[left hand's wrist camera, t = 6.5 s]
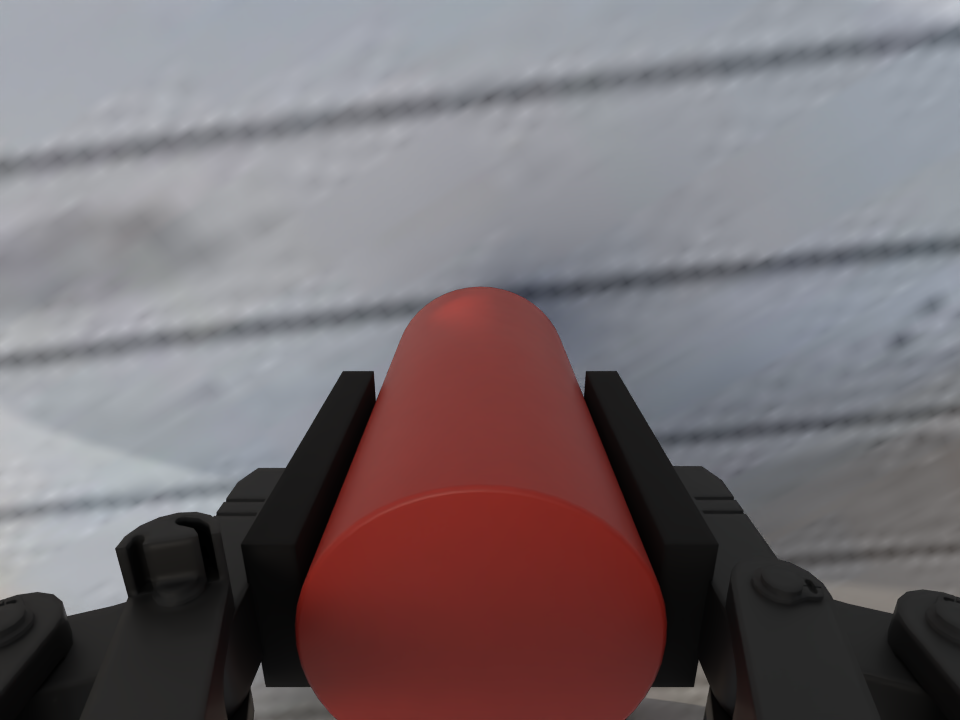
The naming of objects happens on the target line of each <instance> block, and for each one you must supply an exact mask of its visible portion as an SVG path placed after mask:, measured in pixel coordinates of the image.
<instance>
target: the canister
mask: <svg viewBox="0 0 960 720" xmlns="http://www.w3.org/2000/svg"><path fill="white" fill-rule="evenodd" d="M295 635H296V646H297V651H298V655H299V659H300V663H301V666H302V669H303V671H304V673H305V676H306V678H307V681H308V683H309V684H310V686H311V688H312V689H313V691H314V693H315V694H316V696H317V697H318V699H319V700H320V701H321V703H322V704H323V705H324V706H325V707H326V709H327V710H328V711H329V712H330V713H331V714H332V715H333V716H334V717H335V718H336V719H337V720H625V719H626V718H627V717H628V716H629V715H630V714H631V713H632V712H633V711H634V710H635V709H636V707H637V706H638V705H639V704H640V702H641V701H642V700H643V699H644V697H645V696H646V694H647V693H648V691H649V689H650V688H651V686H652V684H653V682H654V681H655V678H656V676H657V673H658V671H659V669H660V666H661V664H662V659H663V655H664V650H665V646H666V636H667V617H666V609H665V602H664V599H663V596H662V592H661V589H660V586H659V583H658V580H657V578H656V575H655V573H654V571H653V568H652V566H651V563H650V561H649V558H648V556H647V553H646V551H645V548H644V546H643V543H642V541H641V538H640V536H639V533H638V531H637V528H636V526H635V523H634V521H633V518H632V516H631V513H630V511H629V508H628V506H627V503H626V501H625V499H624V496H623V494H622V491H621V489H620V486H619V484H618V481H617V479H616V476H615V474H614V471H613V469H612V466H611V464H610V461H609V459H608V456H607V454H606V451H605V449H604V446H603V444H602V441H601V439H600V436H599V434H598V431H597V429H596V427H595V424H594V422H593V419H592V417H591V414H590V412H589V409H588V407H587V404H586V402H585V399H584V397H583V394H582V392H581V389H580V387H579V384H578V382H577V379H576V377H575V374H574V372H573V369H572V367H571V364H570V362H569V359H568V357H567V355H566V352H565V350H564V347H563V345H562V342H561V340H560V337H559V335H558V333H557V331H556V329H555V327H554V326H553V324H552V323H551V321H550V320H549V319H548V318H547V316H546V315H545V314H544V313H543V312H542V311H541V310H540V309H539V308H538V307H536V306H535V305H534V304H533V303H531V302H530V301H528V300H526V299H525V298H523V297H521V296H519V295H517V294H515V293H512V292H509V291H506V290H503V289H497V288H492V287H469V288H464V289H459V290H455V291H452V292H449V293H446V294H444V295H442V296H440V297H438V298H436V299H435V300H433V301H432V302H430V303H429V304H427V305H426V306H425V307H424V308H422V309H421V310H420V311H419V312H418V313H417V314H416V315H415V317H414V318H413V319H412V320H411V321H410V323H409V324H408V326H407V328H406V329H405V331H404V333H403V335H402V338H401V340H400V342H399V345H398V347H397V350H396V352H395V355H394V357H393V360H392V362H391V365H390V367H389V370H388V372H387V375H386V377H385V380H384V383H383V385H382V388H381V390H380V393H379V395H378V398H377V400H376V403H375V405H374V408H373V410H372V413H371V415H370V418H369V420H368V423H367V425H366V428H365V430H364V433H363V435H362V438H361V440H360V443H359V445H358V448H357V450H356V453H355V455H354V458H353V460H352V463H351V465H350V468H349V470H348V473H347V475H346V478H345V480H344V483H343V485H342V488H341V490H340V493H339V495H338V498H337V500H336V503H335V505H334V508H333V511H332V513H331V516H330V518H329V521H328V523H327V526H326V528H325V531H324V533H323V536H322V538H321V541H320V543H319V546H318V548H317V551H316V553H315V556H314V558H313V561H312V563H311V566H310V568H309V571H308V573H307V576H306V578H305V581H304V583H303V586H302V589H301V592H300V596H299V600H298V603H297V608H296V618H295Z"/></svg>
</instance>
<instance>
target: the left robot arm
mask: <svg viewBox="0 0 960 720" xmlns="http://www.w3.org/2000/svg"><path fill="white" fill-rule="evenodd" d="M584 399H585V402H586V404H587V407H588V409H589V412H590V414H591V417H592V419H593V422H594V424H595V427H596V429H597V431H598V434H599V436H600V439H601V441H602V444H603V446H604V449H605V451H606V454H607V456H608V459H609V461H610V464H611V466H612V469H613V471H614V474H615V476H616V479H617V481H618V484H619V486H620V489H621V491H622V494H623V496H624V499H625V501H626V503H627V506H628V508H629V511H630V513H631V516H632V518H633V521H634V523H635V526H636V528H637V531H638V533H639V536H640V538H641V541H642V543H643V546H644V548H645V551H646V553H647V556H648V558H649V561H650V563H651V566H652V568H653V571H654V573H655V575H656V578H657V580H658V583H659V586H660V589H661V592H662V596H663V599H664V602H665V609H666V617H667V636H666V646H665V650H664V655H663V659H662V664H661V666H660V669H659V671H658V673H657V676H656V678H655V681H654V682H653V684H652V686H651V687H694V683H695V677H696V672H697V666H698V660H699V661H700V664H701V666H702V668H703V671H704V673H705V675H706V678H707V680H708V683H709V685H710V688H709V693H708V698H707V703H706V709H705V714H704V719H703V720H960V598H959V597H955V596H953V595H950V594H947V593H944V592H937V591H929V590H916V591H909V592H906V593H905V594H904V595H902V596H901V597H900V598H899V599H898V601H897V604H896V607H895V610H894V613H893V614H891V613H887V612H882V611H878V610H874V609H869V608H865V607H860V606H856V605H851V604H847V603H844V602H840V601H837V600H833V598H832V596H831V595H830V593H829V592H828V590H827V589H826V587H825V586H824V584H823V583H822V582H821V581H819V580H818V579H817V578H816V577H814V576H813V575H812V574H811V573H809V572H808V571H806V570H804V569H802V568H800V567H798V566H796V565H794V564H792V563H790V562H786V561H782V560H779V559H777V557H776V556H775V554H774V553H773V551H772V550H771V549H770V547H769V546H768V544H767V543H766V542H765V540H764V539H763V537H762V536H761V535H760V533H759V532H758V530H757V529H756V528H755V526H754V525H753V523H752V522H751V521H750V519H749V518H748V516H747V515H746V514H744V513H743V509H742V508H741V506H740V505H739V504H738V502H737V501H736V500H734V497H733V495H732V494H731V492H730V491H729V490H728V488H727V487H726V485H725V484H724V483H723V481H722V480H721V479H719V478H718V477H716V476H715V475H713V474H712V473H711V472H709V471H708V470H706V469H705V468H703V467H702V466H672V464H671V462H670V461H669V459H668V457H667V456H666V454H665V452H664V451H663V449H662V447H661V446H660V444H659V442H658V440H657V439H656V437H655V435H654V434H653V432H652V430H651V429H650V427H649V425H648V423H647V422H646V420H645V418H644V417H643V415H642V413H641V412H640V410H639V408H638V407H637V405H636V403H635V401H634V400H633V398H632V396H631V395H630V393H629V391H628V390H627V388H626V386H625V385H624V383H623V381H622V379H621V378H620V376H619V374H618V373H617V371H586V377H585V392H584ZM375 403H376V397H375V383H374V371H343V372H342V374H341V375H340V377H339V379H338V381H337V382H336V384H335V386H334V387H333V389H332V391H331V392H330V394H329V396H328V397H327V399H326V401H325V403H324V404H323V406H322V408H321V409H320V411H319V413H318V414H317V416H316V418H315V419H314V421H313V423H312V425H311V426H310V428H309V430H308V431H307V433H306V435H305V436H304V438H303V440H302V441H301V443H300V445H299V447H298V448H297V450H296V452H295V453H294V455H293V457H292V458H291V460H290V462H289V463H288V465H287V467H286V468H258V469H256V470H255V471H253V472H252V473H250V474H249V475H248V476H246V477H245V478H243V479H242V480H240V481H239V482H238V483H237V484H236V486H235V487H234V489H233V490H232V491H231V493H230V494H229V496H228V497H227V498H226V502H224V503H223V504H222V506H221V507H220V508H219V510H218V511H217V515H216V516H214V517H212V516H211V515H207V514H203V513H199V512H184V513H175V514H171V515H167V516H163V517H159V518H157V519H154V520H152V521H150V522H148V523H145V524H143V525H141V526H139V527H138V528H136V529H135V530H133V531H132V532H131V533H129V534H128V535H126V536H125V537H124V538H123V539H122V541H121V542H120V543H119V545H118V546H117V547H116V548H115V550H116V553H117V557H118V561H119V565H120V568H121V572H122V576H123V579H124V583H125V587H126V590H127V594H128V599H127V602H125V603H121V604H118V605H114V606H111V607H106V608H102V609H97V610H93V611H88V612H84V613H80V614H75V615H71V616H67V615H66V612H65V609H64V605H63V602H62V601H61V600H60V599H58V598H57V597H56V596H55V595H54V594H47V593H40V592H35V593H28V594H21V595H16V596H13V597H9V598H6V599H3V600H0V720H253V719H254V705H253V698H252V693H251V688H250V687H251V685H252V682H253V680H254V677H255V675H256V673H257V670H258V668H259V666H260V663H261V662H262V668H263V674H264V679H265V685H266V687H311V686H310V684H309V683H308V681H307V678H306V676H305V673H304V671H303V669H302V666H301V663H300V659H299V655H298V651H297V646H296V635H295V618H296V608H297V603H298V600H299V596H300V592H301V589H302V586H303V583H304V581H305V578H306V576H307V573H308V571H309V568H310V566H311V563H312V561H313V558H314V556H315V553H316V551H317V548H318V546H319V543H320V541H321V538H322V536H323V533H324V531H325V528H326V526H327V523H328V521H329V518H330V516H331V513H332V511H333V508H334V505H335V503H336V500H337V498H338V495H339V493H340V490H341V488H342V485H343V483H344V480H345V478H346V475H347V473H348V470H349V468H350V465H351V463H352V460H353V458H354V455H355V453H356V450H357V448H358V445H359V443H360V440H361V438H362V435H363V433H364V430H365V428H366V425H367V423H368V420H369V418H370V415H371V413H372V410H373V408H374V405H375Z"/></svg>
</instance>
